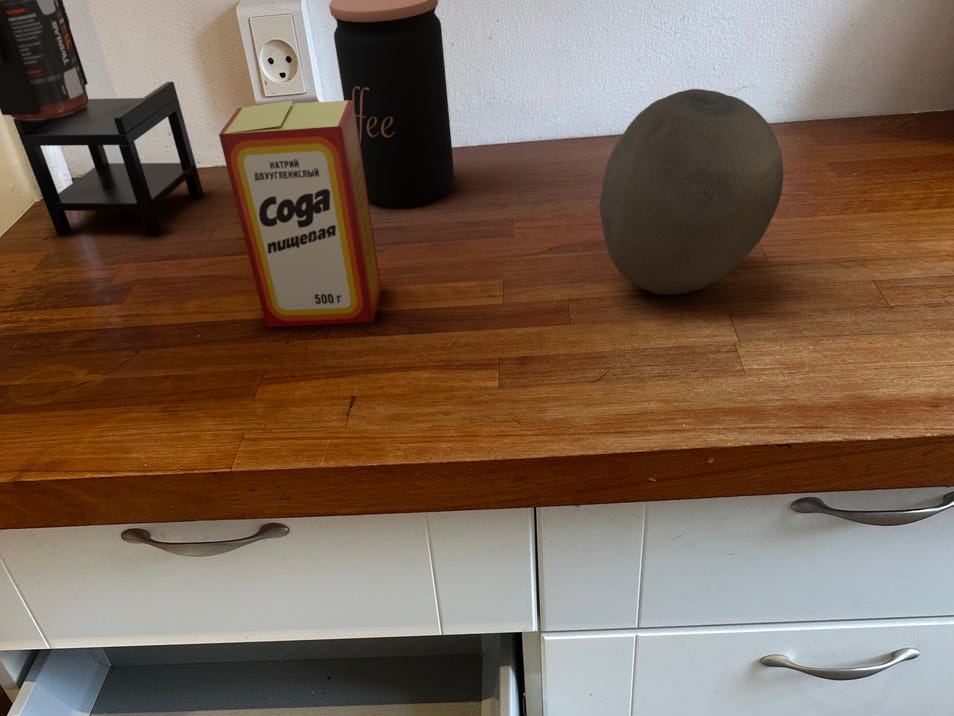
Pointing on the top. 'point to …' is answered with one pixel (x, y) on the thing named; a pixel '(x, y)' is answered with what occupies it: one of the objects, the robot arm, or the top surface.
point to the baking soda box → (304, 211)
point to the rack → (113, 181)
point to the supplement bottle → (47, 58)
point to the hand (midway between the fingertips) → (46, 98)
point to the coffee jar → (396, 97)
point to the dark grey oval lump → (689, 190)
